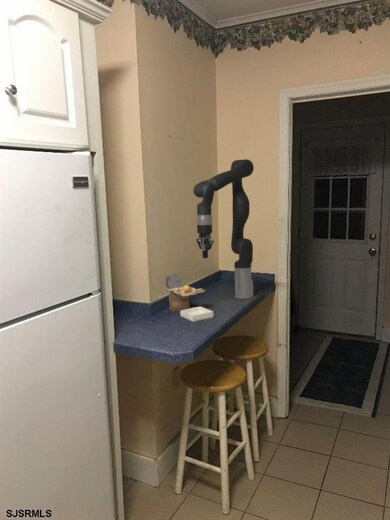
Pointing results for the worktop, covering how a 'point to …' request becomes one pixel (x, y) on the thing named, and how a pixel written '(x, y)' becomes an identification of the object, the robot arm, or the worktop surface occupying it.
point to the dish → (196, 314)
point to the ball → (186, 288)
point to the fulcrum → (178, 301)
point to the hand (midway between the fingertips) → (205, 258)
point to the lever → (179, 286)
